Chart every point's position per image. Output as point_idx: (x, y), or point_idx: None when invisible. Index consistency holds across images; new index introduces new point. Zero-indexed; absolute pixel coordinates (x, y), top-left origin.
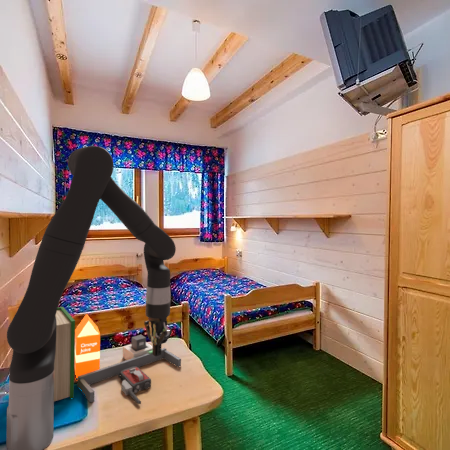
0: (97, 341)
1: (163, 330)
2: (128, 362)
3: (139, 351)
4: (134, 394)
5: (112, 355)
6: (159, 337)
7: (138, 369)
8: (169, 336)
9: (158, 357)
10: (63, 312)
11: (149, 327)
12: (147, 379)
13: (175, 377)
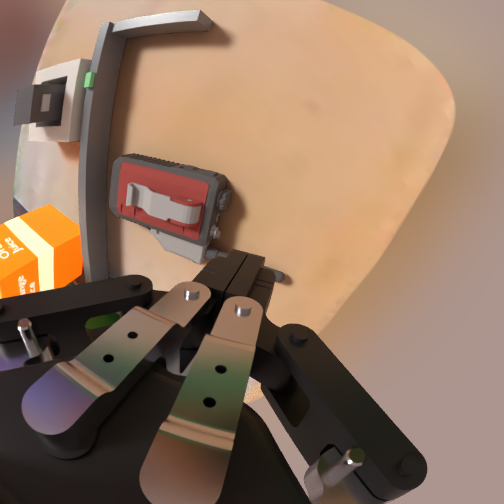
0: (15, 277)
1: (315, 497)
2: (88, 170)
3: (66, 116)
4: None
5: (37, 151)
6: (196, 316)
7: (135, 168)
8: (380, 409)
9: (116, 55)
10: None
11: (61, 355)
12: (211, 194)
13: (252, 78)
